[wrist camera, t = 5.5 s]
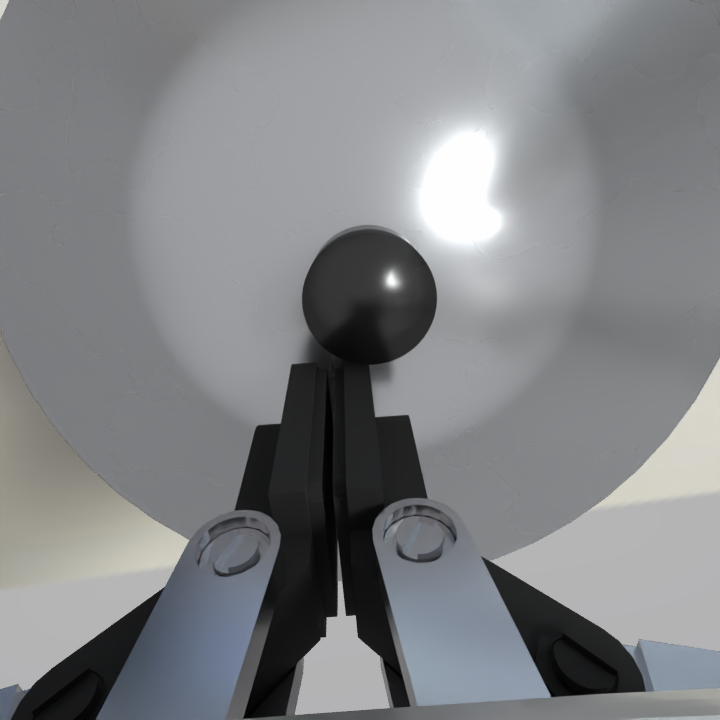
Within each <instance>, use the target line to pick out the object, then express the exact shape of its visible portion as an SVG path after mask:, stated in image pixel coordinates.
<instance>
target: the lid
mask: <svg viewBox="0 0 720 720" xmlns="http://www.w3.org/2000/svg"><path fill="white" fill-rule="evenodd" d="M0 331H1V334H2V336H3V339H4V341H5V344H6V346H7V349H8V351H9V353H10V355H11V357H12V359H13V361H14V363H15V364H16V366H17V368H18V370H19V372H20V374H21V376H22V377H23V379H24V381H25V383H26V385H27V387H28V389H29V390H30V392H31V394H32V395H33V397H34V398H35V400H36V401H37V403H38V404H39V406H40V407H41V408H42V410H43V411H44V413H45V414H46V416H47V417H48V418H49V420H50V421H51V423H52V424H53V426H54V427H55V428H56V430H57V431H58V432H59V434H60V435H61V436H62V437H63V438H64V439H65V440H66V442H67V443H68V444H69V445H70V446H71V447H72V448H73V449H74V451H75V452H76V453H77V454H78V455H79V456H80V457H81V459H82V460H83V461H84V462H85V463H86V464H87V465H88V466H89V467H90V468H91V469H92V470H93V471H94V472H95V473H96V474H98V475H99V476H100V477H101V478H102V479H103V480H104V481H105V482H106V483H107V484H109V485H110V486H111V487H112V488H113V489H114V490H115V491H116V492H117V493H118V494H120V495H121V496H122V497H124V498H125V499H126V500H128V501H129V502H131V503H132V504H133V505H135V506H136V507H137V508H139V509H140V510H142V511H143V512H144V513H146V514H147V515H148V516H150V517H151V518H153V519H154V520H156V521H158V522H159V523H161V524H163V525H164V526H166V527H168V528H170V529H171V530H173V531H175V532H177V533H178V534H180V535H182V536H184V537H185V538H187V539H189V540H190V539H191V538H192V537H193V535H194V534H195V532H196V531H197V530H198V529H200V528H201V527H202V526H203V525H204V524H205V523H207V522H208V521H210V520H212V519H214V518H216V517H217V516H219V515H222V514H225V513H228V512H232V511H235V507H236V503H237V499H238V495H239V491H240V487H241V483H242V479H243V475H244V471H245V467H246V463H247V459H248V456H249V452H250V448H251V444H252V440H253V436H254V432H255V429H256V426H258V425H266V424H280V423H281V419H282V414H283V408H284V403H285V397H286V391H287V386H288V380H289V375H290V369H291V365H292V364H300V363H314V362H317V365H318V369H322V368H327V371H328V380H329V390H330V400H331V410H332V420H334V368H337V367H344V361H347V362H351V363H355V364H362V365H369V368H370V377H371V385H372V394H373V403H374V411H375V417H383V416H398V415H409V417H410V421H411V426H412V430H413V435H414V439H415V443H416V448H417V452H418V457H419V461H420V466H421V470H422V475H423V479H424V484H425V488H426V492H427V497H428V499H431V500H435V501H437V502H440V503H442V504H445V505H447V506H448V507H449V508H451V509H452V510H453V511H455V512H456V513H457V514H458V515H459V517H460V518H461V519H462V521H463V522H464V524H465V526H466V528H467V530H468V532H469V534H470V536H471V538H472V540H473V542H474V544H475V546H476V548H477V550H478V552H479V554H480V556H482V557H484V558H485V559H487V560H489V561H490V560H493V559H496V558H499V557H501V556H504V555H506V554H508V553H511V552H513V551H516V550H518V549H520V548H522V547H525V546H527V545H529V544H532V543H534V542H536V541H538V540H540V539H542V538H543V537H545V536H547V535H549V534H551V533H553V532H554V531H556V530H558V529H560V528H561V527H563V526H565V525H567V524H569V523H571V522H572V521H573V520H575V519H576V518H578V517H579V516H581V515H582V514H583V513H585V512H586V511H588V510H589V509H591V508H592V507H594V506H595V505H596V504H598V503H599V502H601V501H602V500H604V499H605V498H606V497H607V496H608V495H610V494H611V493H612V492H613V491H614V490H615V489H616V488H618V487H619V486H620V485H621V484H622V483H623V482H625V481H626V480H627V479H628V478H629V477H630V476H631V475H633V474H634V473H635V472H636V471H637V470H638V469H639V468H640V467H641V466H642V465H643V464H644V463H645V462H646V461H647V459H648V458H649V457H650V456H651V455H652V454H653V453H654V452H655V451H656V450H657V449H658V448H659V446H660V445H661V444H662V443H663V442H664V441H665V440H666V439H667V438H668V437H669V435H670V434H671V433H672V431H673V430H674V428H675V427H676V426H677V424H678V423H679V422H680V420H681V419H682V418H683V416H684V415H685V414H686V412H687V411H688V410H689V408H690V407H691V405H692V404H693V403H694V401H695V400H696V398H697V396H698V395H699V393H700V391H701V390H702V388H703V386H704V384H705V383H706V381H707V379H708V377H709V376H710V374H711V372H712V370H713V369H714V367H715V365H716V363H717V362H718V360H719V358H720V0H9V2H8V5H7V7H6V9H5V11H4V13H3V16H2V18H1V20H0ZM338 581H342V574H341V565H340V555H339V546H338Z"/></svg>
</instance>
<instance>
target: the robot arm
mask: <svg viewBox="0 0 720 720" xmlns="http://www.w3.org/2000/svg"><path fill="white" fill-rule="evenodd" d="M338 546H339V555H340V565H341V574H342V582H343V592H344V601H345V610H346V616H352V615H356V620H357V632H358V638H360V639H361V640H362V641H363V642H364V643H365V644H367V645H368V646H369V647H370V648H371V649H372V650H373V651H375V652H376V653H377V654H378V655H379V656H380V662H381V670H382V674H383V679H384V683H385V688H386V692H387V696H388V701H389V706H390V708H387V709H373V710H359V711H347V712H332V713H319V714H304V715H295V709H296V705H297V700H298V695H299V690H300V686H301V681H302V676H303V667H304V665H303V664H304V658H303V657H304V656H305V655H306V654H307V653H308V652H309V651H310V650H311V649H312V648H313V647H314V646H315V645H316V644H317V643H318V642H319V641H320V637H326V617H336V616H337V606H338V604H337V603H338V602H337V601H338V600H337V599H338V595H337V594H338V593H337V592H338V587H337V586H338ZM0 720H720V651H714V650H707V649H700V648H694V647H687V646H680V645H674V644H667V643H661V642H654V641H647V640H641V639H639V641H638V644H637V647H635V646H629V645H622V644H621V643H620V642H619V641H618V640H617V639H615V638H614V637H613V636H611V635H610V634H609V633H608V632H606V631H605V630H604V629H602V628H600V627H599V626H597V625H595V624H594V623H592V622H590V621H589V620H587V619H585V618H584V617H582V616H580V615H579V614H577V613H575V612H574V611H572V610H570V609H569V608H567V607H565V606H563V605H562V604H560V603H558V602H557V601H555V600H554V599H552V598H550V597H549V596H547V595H545V594H543V593H542V592H540V591H539V590H537V589H535V588H534V587H532V586H530V585H529V584H527V583H525V582H524V581H522V580H520V579H519V578H517V577H515V576H514V575H512V574H510V573H508V572H507V571H505V570H504V569H502V568H500V567H499V566H497V565H495V564H494V563H492V562H490V561H489V560H487V559H485V558H484V557H482V556H480V554H479V552H478V550H477V548H476V546H475V544H474V542H473V540H472V538H471V536H470V534H469V532H468V530H467V528H466V526H465V524H464V522H463V521H462V519H461V518H460V517H459V515H458V514H457V513H456V512H455V511H453V510H452V509H451V508H449V507H448V506H447V505H445V504H442V503H440V502H437V501H435V500H431V499H428V497H427V492H426V488H425V484H424V479H423V475H422V470H421V466H420V461H419V457H418V452H417V448H416V443H415V439H414V435H413V430H412V426H411V421H410V417H409V415H398V416H383V417H375V411H374V403H373V394H372V385H371V377H370V368H369V365H362V364H355V363H351V362H347V361H344V367H337V368H334V420H332V410H331V400H330V390H329V380H328V371H327V368H322V369H318V365H317V362H314V363H300V364H292V365H291V369H290V375H289V380H288V386H287V391H286V397H285V403H284V408H283V414H282V419H281V423H280V424H266V425H258V426H256V429H255V432H254V436H253V440H252V444H251V448H250V452H249V456H248V459H247V463H246V467H245V471H244V475H243V479H242V483H241V487H240V491H239V495H238V499H237V503H236V507H235V511H232V512H228V513H225V514H222V515H219V516H217V517H216V518H214V519H212V520H210V521H208V522H207V523H205V524H204V525H203V526H202V527H201V528H200V529H198V530H197V531H196V532H195V534H194V535H193V537H192V538H191V539H190V541H189V542H188V544H187V546H186V548H185V550H184V552H183V554H182V555H181V557H180V559H179V561H178V563H177V565H176V567H175V569H174V571H173V573H172V575H171V577H170V578H169V580H168V582H167V584H166V586H165V587H164V588H163V589H162V590H160V591H159V592H157V593H156V594H154V595H153V596H152V597H151V598H149V599H148V600H146V601H145V602H143V603H142V604H141V605H140V606H138V607H136V608H135V609H134V610H132V611H131V612H129V613H128V614H127V615H125V616H124V617H123V618H121V619H120V620H118V621H117V622H116V623H114V624H113V625H111V626H110V627H109V628H108V629H106V630H105V631H103V632H102V633H100V634H99V635H98V636H96V637H95V638H94V639H92V640H91V641H90V642H88V643H87V644H85V645H84V646H82V647H81V648H80V649H78V650H77V651H75V652H74V653H73V654H71V655H70V656H69V657H67V658H66V659H64V660H63V661H62V662H60V663H59V664H57V665H56V666H55V667H53V668H52V669H51V670H50V671H49V672H47V673H46V674H45V675H44V676H43V677H42V678H41V679H39V680H38V681H37V682H36V683H35V684H34V685H33V686H32V687H31V689H28V690H24V691H22V689H21V688H20V686H19V685H18V684H17V685H13V686H10V687H6V688H3V689H0Z"/></svg>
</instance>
